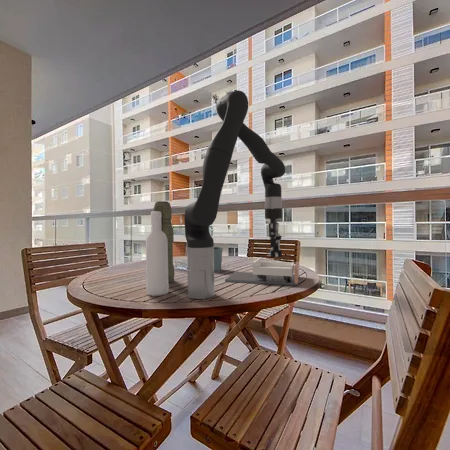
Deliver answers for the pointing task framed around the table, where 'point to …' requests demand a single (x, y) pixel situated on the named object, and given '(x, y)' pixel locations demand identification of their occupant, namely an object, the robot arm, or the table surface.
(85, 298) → the table surface
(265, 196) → the robot arm
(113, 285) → the table surface
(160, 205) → the thermos
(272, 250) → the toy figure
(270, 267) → the cart
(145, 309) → the table surface
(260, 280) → the grey piece
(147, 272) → the bottle
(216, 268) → the drinking glass
